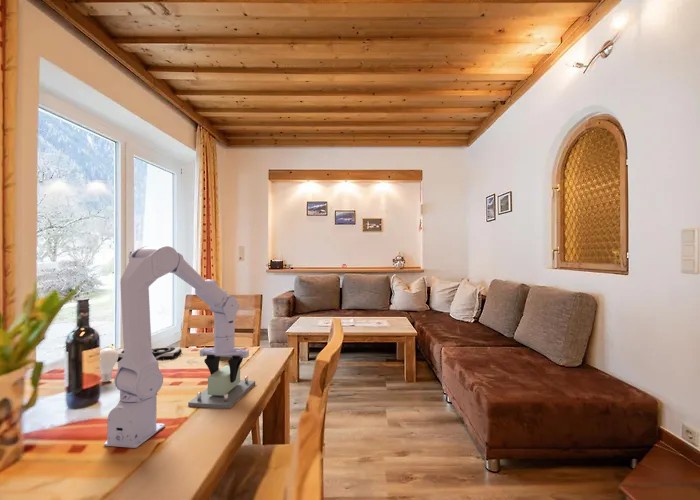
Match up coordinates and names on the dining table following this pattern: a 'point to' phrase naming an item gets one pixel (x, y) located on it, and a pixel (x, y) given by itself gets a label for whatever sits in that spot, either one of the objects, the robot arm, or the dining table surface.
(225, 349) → the robot arm
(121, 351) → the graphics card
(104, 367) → the lightbulb
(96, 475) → the dining table surface
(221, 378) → the sage green block
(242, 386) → the pin holder
